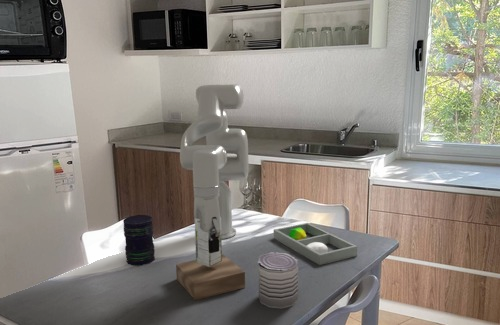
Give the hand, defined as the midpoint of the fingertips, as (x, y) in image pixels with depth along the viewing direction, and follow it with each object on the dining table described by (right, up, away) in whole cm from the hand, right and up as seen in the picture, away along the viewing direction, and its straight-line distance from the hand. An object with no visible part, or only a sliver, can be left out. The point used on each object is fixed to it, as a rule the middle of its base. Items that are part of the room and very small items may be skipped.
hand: (208, 247), depth 139 cm
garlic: (+36, -7, +24) cm, 44 cm away
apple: (+31, -5, +33) cm, 46 cm away
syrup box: (0, -5, +1) cm, 5 cm away
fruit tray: (+36, -5, +30) cm, 47 cm away
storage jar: (-26, -9, +21) cm, 34 cm away
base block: (0, -11, +2) cm, 12 cm away
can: (+21, -13, -9) cm, 26 cm away
